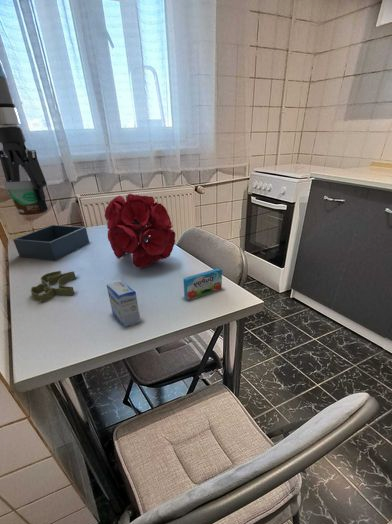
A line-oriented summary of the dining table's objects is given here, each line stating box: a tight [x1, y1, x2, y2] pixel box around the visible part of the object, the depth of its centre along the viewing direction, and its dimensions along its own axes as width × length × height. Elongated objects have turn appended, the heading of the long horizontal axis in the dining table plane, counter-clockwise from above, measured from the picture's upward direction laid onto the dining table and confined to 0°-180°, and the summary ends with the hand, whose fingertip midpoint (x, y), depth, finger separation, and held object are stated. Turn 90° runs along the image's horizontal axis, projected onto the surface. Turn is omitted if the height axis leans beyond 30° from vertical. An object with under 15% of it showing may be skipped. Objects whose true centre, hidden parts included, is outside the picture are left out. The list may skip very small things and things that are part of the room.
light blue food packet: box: [182, 267, 223, 301], centre depth 83 cm, size 12×2×6 cm, turn 123°
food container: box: [4, 180, 48, 216], centre depth 99 cm, size 12×6×10 cm, turn 137°
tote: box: [12, 224, 90, 261], centre depth 120 cm, size 18×22×7 cm
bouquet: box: [104, 193, 176, 269], centre depth 101 cm, size 22×24×30 cm
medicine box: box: [106, 280, 141, 328], centre depth 73 cm, size 8×4×9 cm, turn 35°
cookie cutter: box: [30, 270, 77, 303], centre depth 91 cm, size 18×12×2 cm, turn 15°
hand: (35, 209), depth 102 cm, fingers closed on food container, 7 cm apart
